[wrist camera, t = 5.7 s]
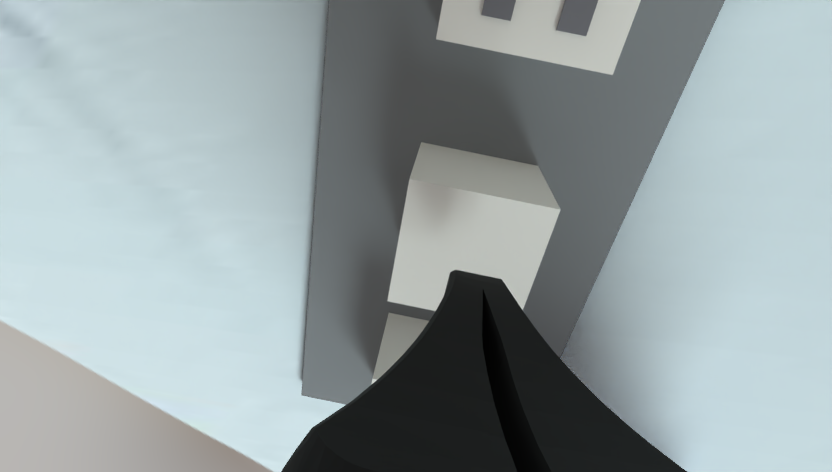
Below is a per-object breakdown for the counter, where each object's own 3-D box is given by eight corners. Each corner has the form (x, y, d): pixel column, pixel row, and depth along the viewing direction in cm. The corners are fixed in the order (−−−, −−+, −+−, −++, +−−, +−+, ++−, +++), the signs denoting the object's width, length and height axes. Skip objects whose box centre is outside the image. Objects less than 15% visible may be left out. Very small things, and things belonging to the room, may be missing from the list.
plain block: (538, 165, 16) (560, 209, 12) (505, 265, 18) (516, 327, 14) (421, 142, 16) (409, 178, 12) (402, 244, 18) (387, 301, 14)
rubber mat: (520, 430, 23) (521, 440, 22) (305, 386, 23) (301, 395, 22) (794, -178, 11) (811, -188, 11) (353, -267, 11) (348, -280, 11)
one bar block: (482, 331, 19) (487, 404, 16) (461, 397, 21) (460, 475, 18) (388, 312, 19) (372, 381, 16) (376, 379, 21) (358, 454, 18)
